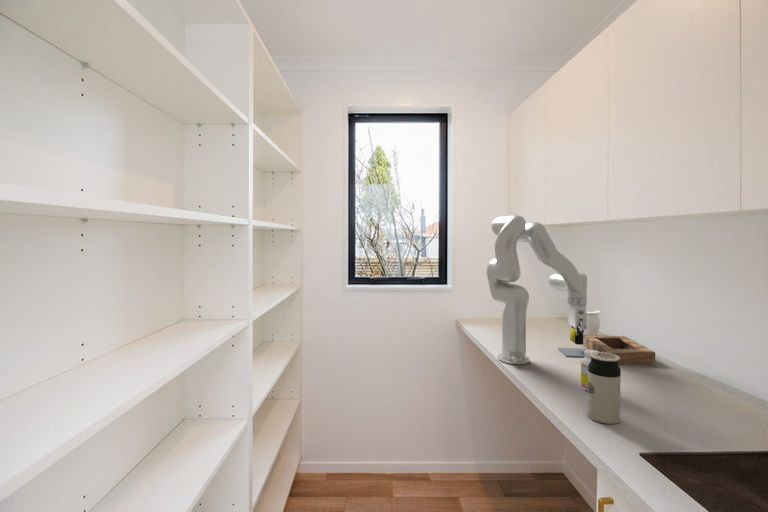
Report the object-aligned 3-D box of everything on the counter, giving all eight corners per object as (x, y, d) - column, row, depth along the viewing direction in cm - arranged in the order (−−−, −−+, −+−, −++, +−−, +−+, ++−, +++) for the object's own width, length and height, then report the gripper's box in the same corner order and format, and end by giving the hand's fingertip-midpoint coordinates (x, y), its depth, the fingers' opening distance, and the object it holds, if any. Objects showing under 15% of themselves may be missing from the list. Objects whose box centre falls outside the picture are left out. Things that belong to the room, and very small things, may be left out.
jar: (575, 336, 200) (576, 307, 200) (598, 339, 196) (599, 309, 195) (575, 341, 191) (576, 311, 190) (599, 344, 186) (600, 313, 186)
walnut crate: (654, 365, 156) (655, 352, 156) (606, 363, 158) (607, 350, 158) (624, 347, 182) (624, 335, 181) (583, 345, 184) (583, 334, 184)
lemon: (582, 343, 174) (582, 325, 174) (584, 346, 169) (585, 328, 168) (568, 342, 176) (568, 324, 175) (570, 345, 170) (571, 327, 170)
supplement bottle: (592, 384, 136) (592, 348, 135) (607, 391, 130) (608, 353, 129) (575, 386, 134) (576, 349, 134) (590, 394, 128) (591, 355, 127)
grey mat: (595, 358, 166) (595, 356, 166) (566, 356, 167) (566, 355, 167) (585, 349, 177) (585, 348, 177) (557, 348, 179) (557, 347, 179)
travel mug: (615, 414, 113) (617, 352, 112) (622, 426, 106) (624, 361, 105) (585, 410, 116) (586, 350, 115) (589, 422, 108) (591, 358, 108)
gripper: (593, 305, 162) (593, 348, 163) (579, 298, 179) (578, 337, 180) (574, 304, 163) (574, 347, 164) (561, 298, 180) (561, 337, 181)
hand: (576, 341), depth 172 cm, fingers closed on lemon, 5 cm apart
